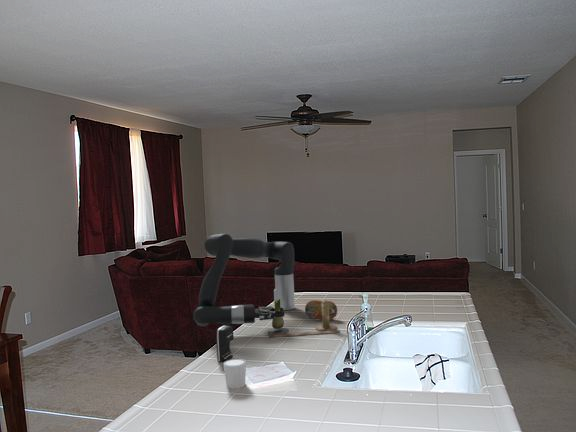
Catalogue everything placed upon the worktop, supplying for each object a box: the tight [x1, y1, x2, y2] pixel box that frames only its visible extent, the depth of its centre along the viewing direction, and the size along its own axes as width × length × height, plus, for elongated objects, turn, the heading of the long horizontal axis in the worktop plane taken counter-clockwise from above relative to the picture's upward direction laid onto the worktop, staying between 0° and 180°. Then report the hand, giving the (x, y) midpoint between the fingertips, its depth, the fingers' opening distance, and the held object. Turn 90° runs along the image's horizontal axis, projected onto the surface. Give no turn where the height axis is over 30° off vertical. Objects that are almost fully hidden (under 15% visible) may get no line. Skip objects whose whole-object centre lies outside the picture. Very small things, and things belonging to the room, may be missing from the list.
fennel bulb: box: [271, 299, 285, 329], centre depth 213 cm, size 6×5×12 cm
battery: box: [215, 325, 234, 362], centre depth 180 cm, size 7×4×11 cm, turn 158°
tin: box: [304, 300, 338, 321], centre depth 231 cm, size 15×3×8 cm, turn 62°
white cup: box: [223, 358, 247, 390], centre depth 156 cm, size 7×7×7 cm
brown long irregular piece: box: [267, 299, 341, 339], centre depth 212 cm, size 29×12×12 cm, turn 95°
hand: (283, 311), depth 213 cm, fingers closed on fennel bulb, 6 cm apart
